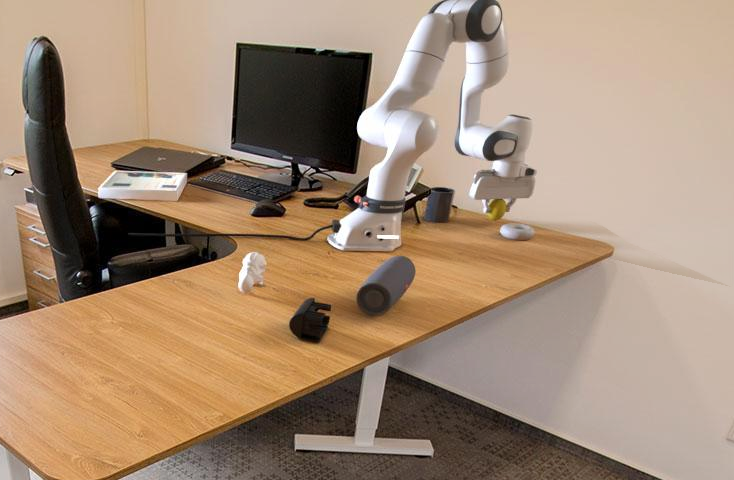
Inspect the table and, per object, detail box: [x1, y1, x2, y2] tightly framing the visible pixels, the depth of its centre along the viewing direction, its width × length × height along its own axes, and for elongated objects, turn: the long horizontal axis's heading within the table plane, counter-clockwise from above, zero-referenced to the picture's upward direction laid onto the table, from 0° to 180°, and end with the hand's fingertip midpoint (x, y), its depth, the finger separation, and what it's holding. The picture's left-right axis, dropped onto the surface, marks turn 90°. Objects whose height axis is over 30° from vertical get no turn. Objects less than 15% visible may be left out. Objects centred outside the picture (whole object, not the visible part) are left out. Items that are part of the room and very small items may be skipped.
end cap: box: [288, 297, 332, 344], centre depth 156 cm, size 10×7×7 cm
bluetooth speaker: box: [355, 255, 416, 317], centre depth 169 cm, size 23×9×10 cm, turn 148°
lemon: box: [486, 199, 507, 222], centre depth 226 cm, size 6×6×8 cm
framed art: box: [97, 170, 188, 202], centre depth 273 cm, size 30×4×30 cm
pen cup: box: [423, 186, 456, 224], centre depth 234 cm, size 8×8×10 cm
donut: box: [499, 222, 536, 241], centre depth 218 cm, size 10×3×10 cm
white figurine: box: [237, 251, 268, 295], centre depth 180 cm, size 6×8×12 cm
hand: (496, 212), depth 227 cm, fingers closed on lemon, 5 cm apart
